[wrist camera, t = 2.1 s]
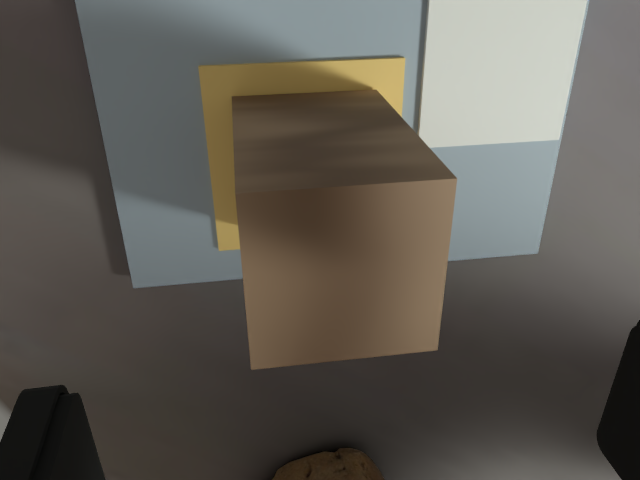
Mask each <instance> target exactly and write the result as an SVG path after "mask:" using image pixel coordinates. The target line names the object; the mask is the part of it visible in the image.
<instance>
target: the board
mask: <svg viewBox="0 0 640 480" xmlns="http://www.w3.org/2000/svg"><path fill="white" fill-rule="evenodd" d="M75 4H76V9H77V14H78V19H79V24H80V29H81V34H82V39H83V44H84V48H85V53H86V58H87V63H88V68H89V73H90V78H91V83H92V88H93V93H94V98H95V103H96V107H97V112H98V117H99V122H100V127H101V132H102V137H103V142H104V147H105V152H106V157H107V162H108V166H109V171H110V176H111V181H112V186H113V191H114V196H115V201H116V206H117V211H118V216H119V221H120V226H121V230H122V235H123V240H124V245H125V250H126V255H127V260H128V265H129V270H130V275H131V280H132V285H133V288H143V287H154V286H166V285H177V284H189V283H201V282H212V281H224V280H235V279H243V275H242V263H241V252H240V241H239V230H238V219H237V208H236V197H235V174H234V147H233V120H232V96H251V95H272V94H293V93H314V92H334V91H355V90H377V91H378V92H379V93H380V94H381V95H382V96H383V97H384V98H385V99H386V101H387V102H388V103H389V104H390V105H391V106H392V107H393V108H394V109H395V110H396V112H397V113H398V114H399V115H400V116H401V117H402V118H403V119H404V120H405V121H406V123H407V124H408V125H409V126H410V127H411V128H412V129H413V130H414V131H415V132H416V134H417V135H418V136H419V137H420V138H421V139H422V140H423V141H424V142H425V143H426V145H427V146H428V147H429V148H430V149H431V150H432V151H433V152H434V153H435V154H436V156H437V157H438V158H439V159H440V160H441V161H442V162H443V163H444V164H445V165H446V167H447V168H448V169H449V170H450V171H451V172H452V173H453V174H454V175H455V176H456V178H457V185H456V194H455V203H454V211H453V220H452V229H451V237H450V246H449V255H448V261H456V260H467V259H479V258H490V257H502V256H514V255H525V254H537V253H538V250H539V245H540V240H541V236H542V231H543V226H544V221H545V216H546V211H547V206H548V201H549V196H550V191H551V186H552V182H553V177H554V172H555V167H556V162H557V157H558V152H559V147H560V142H561V137H562V132H563V128H564V123H565V118H566V113H567V108H568V103H569V98H570V93H571V88H572V83H573V79H574V74H575V69H576V64H577V59H578V54H579V49H580V44H581V39H582V34H583V29H584V25H585V20H586V15H587V10H588V5H589V0H75Z"/></svg>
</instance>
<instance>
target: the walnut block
mask: <svg viewBox="0 0 640 480" xmlns="http://www.w3.org/2000/svg"><path fill="white" fill-rule="evenodd" d="M232 120H233V147H234V174H235V197H236V208H237V219H238V230H239V241H240V252H241V263H242V275H243V286H244V297H245V308H246V319H247V330H248V341H249V352H250V363H251V370H256V369H265V368H275V367H284V366H294V365H303V364H313V363H322V362H331V361H341V360H350V359H360V358H369V357H379V356H388V355H398V354H407V353H417V352H426V351H436V350H438V341H439V333H440V324H441V315H442V307H443V298H444V289H445V281H446V272H447V263H448V255H449V246H450V237H451V229H452V220H453V211H454V203H455V194H456V185H457V178H456V176H455V175H454V174H453V173H452V172H451V171H450V170H449V169H448V168H447V167H446V165H445V164H444V163H443V162H442V161H441V160H440V159H439V158H438V157H437V156H436V154H435V153H434V152H433V151H432V150H431V149H430V148H429V147H428V146H427V145H426V143H425V142H424V141H423V140H422V139H421V138H420V137H419V136H418V135H417V134H416V132H415V131H414V130H413V129H412V128H411V127H410V126H409V125H408V124H407V123H406V121H405V120H404V119H403V118H402V117H401V116H400V115H399V114H398V113H397V112H396V110H395V109H394V108H393V107H392V106H391V105H390V104H389V103H388V102H387V101H386V99H385V98H384V97H383V96H382V95H381V94H380V93H379V92H378V91H377V90H355V91H334V92H314V93H293V94H272V95H251V96H232Z"/></svg>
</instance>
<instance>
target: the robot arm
mask: <svg viewBox="0 0 640 480" xmlns="http://www.w3.org/2000/svg"><path fill="white" fill-rule="evenodd" d="M597 441H598V445H599V447H600V449H601V451H602V453H603V454H604V456H605V457H606V458H607V460H608V461H609V463H610V464H611V465H612V467H613V468H614V469H615V471H616V472H617V474H618V475H619V476H620V478H621V479H622V480H640V320H639V322H638V323H637V325H636V326H635V327H634V328H632V330H631V331H630V334H629V337H628V340H627V343H626V346H625V349H624V352H623V355H622V358H621V361H620V364H619V367H618V370H617V373H616V376H615V379H614V382H613V385H612V388H611V391H610V394H609V397H608V400H607V403H606V406H605V409H604V412H603V415H602V418H601V421H600V424H599V427H598V430H597ZM0 480H105V477H104V473H103V470H102V467H101V463H100V460H99V457H98V453H97V450H96V446H95V443H94V440H93V436H92V433H91V430H90V426H89V423H88V419H87V416H86V413H85V409H84V406H83V403H82V399H81V397H80V395H79V394H78V393H72V394H69V393H68V391H67V388H66V387H65V386H64V385H58V386H49V387H41V388H32V389H24V390H23V391H22V392H21V393H20V395H19V397H18V399H17V402H16V404H15V407H14V409H13V412H12V414H11V417H10V419H9V422H8V424H7V427H6V429H5V432H4V434H3V437H2V439H1V442H0Z"/></svg>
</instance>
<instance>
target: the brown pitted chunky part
mask: <svg viewBox="0 0 640 480" xmlns="http://www.w3.org/2000/svg"><path fill="white" fill-rule="evenodd" d="M272 480H384V478H383V476H382V474H381V472H380V470H379V469H378V468H377V467H376V465H375V464H374V462H373V461H372V460H371V459H370V458H369V457H368V456H367V455H366V454H365V453H363V452H361V451H360V450H356V449H352V448H339V449H338V450H337V451H336V452H325V451H324V452H321V453H317V454H313V455H310V456H307V457H304V458H301V459H298V460H295V461H292V462H289V463H287V464H286V465H284V466H283V467H281V468H279V469H278V470H277V472H276V474H275V476H274V478H273V479H272Z"/></svg>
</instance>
